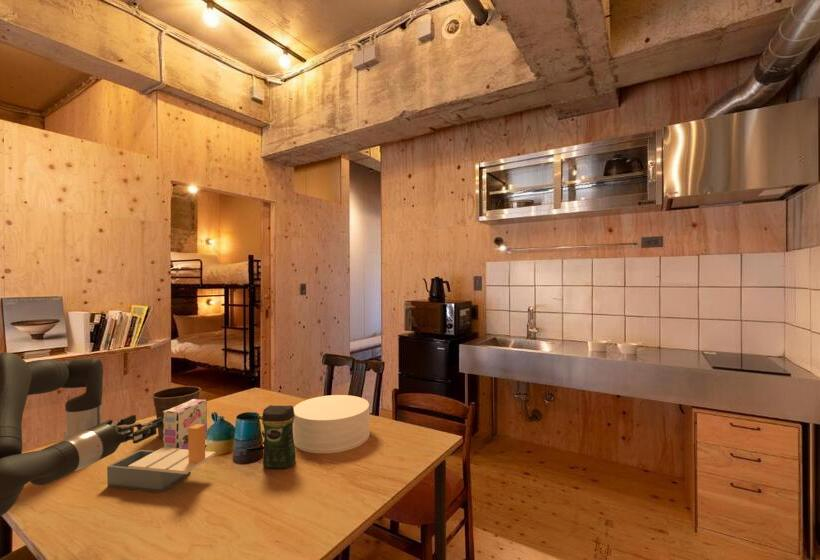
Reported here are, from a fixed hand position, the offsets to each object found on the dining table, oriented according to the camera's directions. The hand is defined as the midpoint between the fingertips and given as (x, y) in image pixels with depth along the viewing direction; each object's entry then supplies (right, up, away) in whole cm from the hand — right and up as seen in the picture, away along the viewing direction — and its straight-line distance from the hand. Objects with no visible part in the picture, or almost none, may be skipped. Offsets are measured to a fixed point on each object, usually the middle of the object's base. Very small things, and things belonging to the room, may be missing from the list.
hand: (148, 419), depth 103 cm
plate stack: (+40, -22, +42) cm, 62 cm away
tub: (-8, -22, +12) cm, 27 cm away
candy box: (-7, -22, +30) cm, 38 cm away
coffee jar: (+28, -22, +21) cm, 41 cm away
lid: (0, -16, +11) cm, 19 cm away
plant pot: (-20, -22, +47) cm, 56 cm away
